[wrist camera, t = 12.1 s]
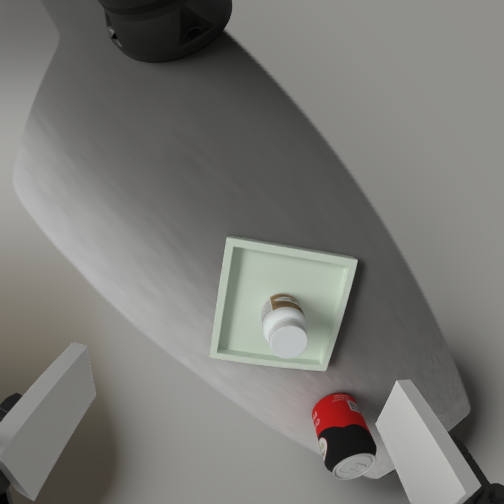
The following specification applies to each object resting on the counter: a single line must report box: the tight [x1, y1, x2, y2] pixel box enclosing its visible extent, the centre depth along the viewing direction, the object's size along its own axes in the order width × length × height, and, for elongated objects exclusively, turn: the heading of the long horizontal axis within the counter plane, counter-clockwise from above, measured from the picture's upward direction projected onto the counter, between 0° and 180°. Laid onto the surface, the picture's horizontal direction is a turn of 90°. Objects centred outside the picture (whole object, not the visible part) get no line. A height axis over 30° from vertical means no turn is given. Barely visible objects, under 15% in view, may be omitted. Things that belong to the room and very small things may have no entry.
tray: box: [209, 235, 358, 371], centre depth 32 cm, size 14×14×2 cm
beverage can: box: [312, 393, 377, 480], centre depth 31 cm, size 6×6×12 cm
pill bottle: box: [261, 292, 308, 359], centre depth 29 cm, size 4×4×8 cm
